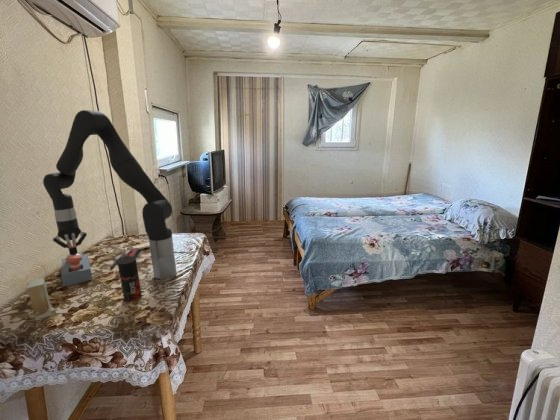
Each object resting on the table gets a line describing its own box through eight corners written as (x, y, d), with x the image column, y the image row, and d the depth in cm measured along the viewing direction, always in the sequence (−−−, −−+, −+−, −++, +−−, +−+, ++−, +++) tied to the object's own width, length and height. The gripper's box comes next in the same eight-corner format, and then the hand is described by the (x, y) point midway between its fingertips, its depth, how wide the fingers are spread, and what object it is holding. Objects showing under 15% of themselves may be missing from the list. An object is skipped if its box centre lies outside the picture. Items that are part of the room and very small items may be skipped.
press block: (92, 279, 125) (90, 268, 124) (63, 286, 120) (61, 275, 119) (89, 263, 141) (87, 253, 140) (64, 269, 136) (61, 259, 134)
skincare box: (36, 312, 103) (27, 280, 99) (51, 307, 105) (44, 276, 102) (35, 321, 98) (26, 288, 94) (51, 316, 100) (43, 283, 97)
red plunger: (84, 271, 125) (81, 257, 123) (68, 275, 122) (65, 261, 120) (84, 267, 129) (81, 253, 127) (68, 270, 126) (65, 256, 124)
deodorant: (130, 303, 107) (123, 265, 103) (120, 298, 110) (114, 261, 106) (144, 295, 112) (139, 259, 108) (135, 291, 115) (129, 256, 111)
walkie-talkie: (123, 253, 153) (108, 270, 134) (121, 246, 152) (107, 261, 133) (140, 252, 155) (129, 268, 136) (139, 244, 154) (127, 259, 135)
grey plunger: (84, 268, 134) (81, 255, 132) (69, 271, 131) (66, 258, 129) (84, 264, 138) (81, 251, 137) (69, 267, 135) (66, 254, 134)
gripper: (46, 223, 122) (55, 261, 126) (84, 217, 129) (91, 253, 134) (47, 219, 128) (56, 255, 132) (83, 213, 135) (90, 249, 140)
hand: (74, 254), depth 133 cm, fingers closed
